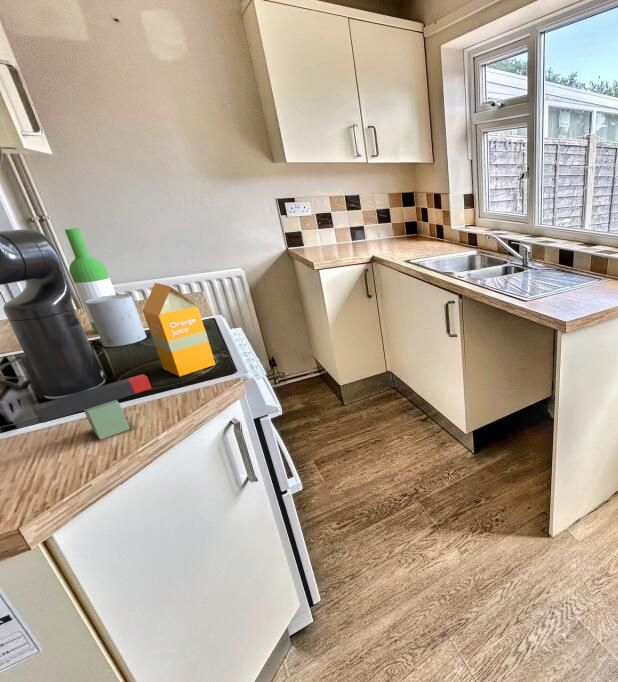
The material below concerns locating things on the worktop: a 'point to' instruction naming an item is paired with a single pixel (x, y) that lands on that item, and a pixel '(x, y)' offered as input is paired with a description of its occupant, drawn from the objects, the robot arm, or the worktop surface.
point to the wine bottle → (87, 273)
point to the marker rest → (107, 419)
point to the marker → (92, 398)
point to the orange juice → (177, 331)
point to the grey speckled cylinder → (116, 320)
